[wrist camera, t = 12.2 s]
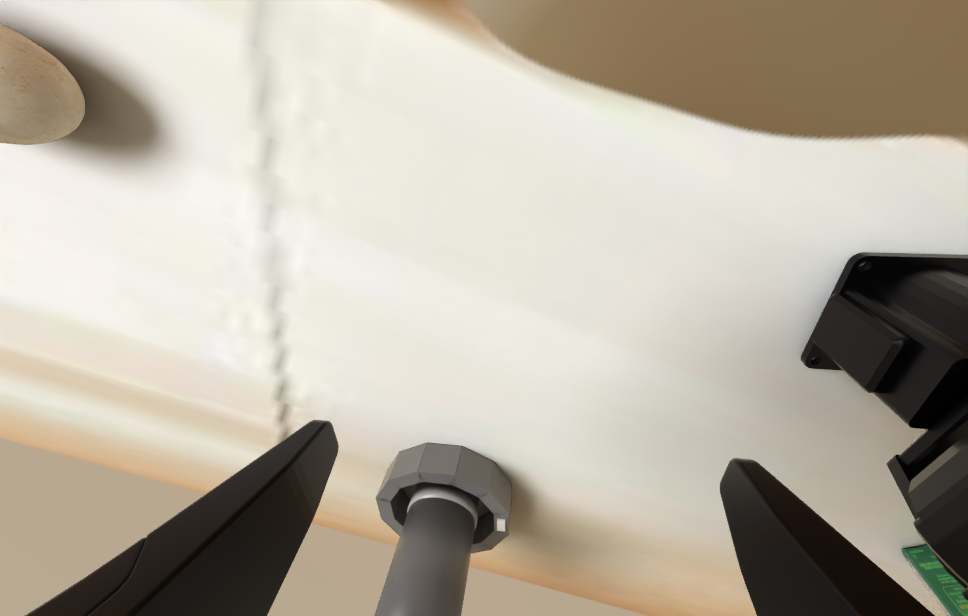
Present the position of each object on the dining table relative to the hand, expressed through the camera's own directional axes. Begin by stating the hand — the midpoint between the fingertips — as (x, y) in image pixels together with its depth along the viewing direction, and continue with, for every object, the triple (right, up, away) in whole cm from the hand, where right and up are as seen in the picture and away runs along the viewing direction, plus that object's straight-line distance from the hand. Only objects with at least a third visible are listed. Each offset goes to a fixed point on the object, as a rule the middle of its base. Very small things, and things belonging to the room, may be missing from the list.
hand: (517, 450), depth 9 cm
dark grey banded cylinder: (-4, -12, +22) cm, 25 cm away
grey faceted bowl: (-4, -11, +22) cm, 25 cm away
